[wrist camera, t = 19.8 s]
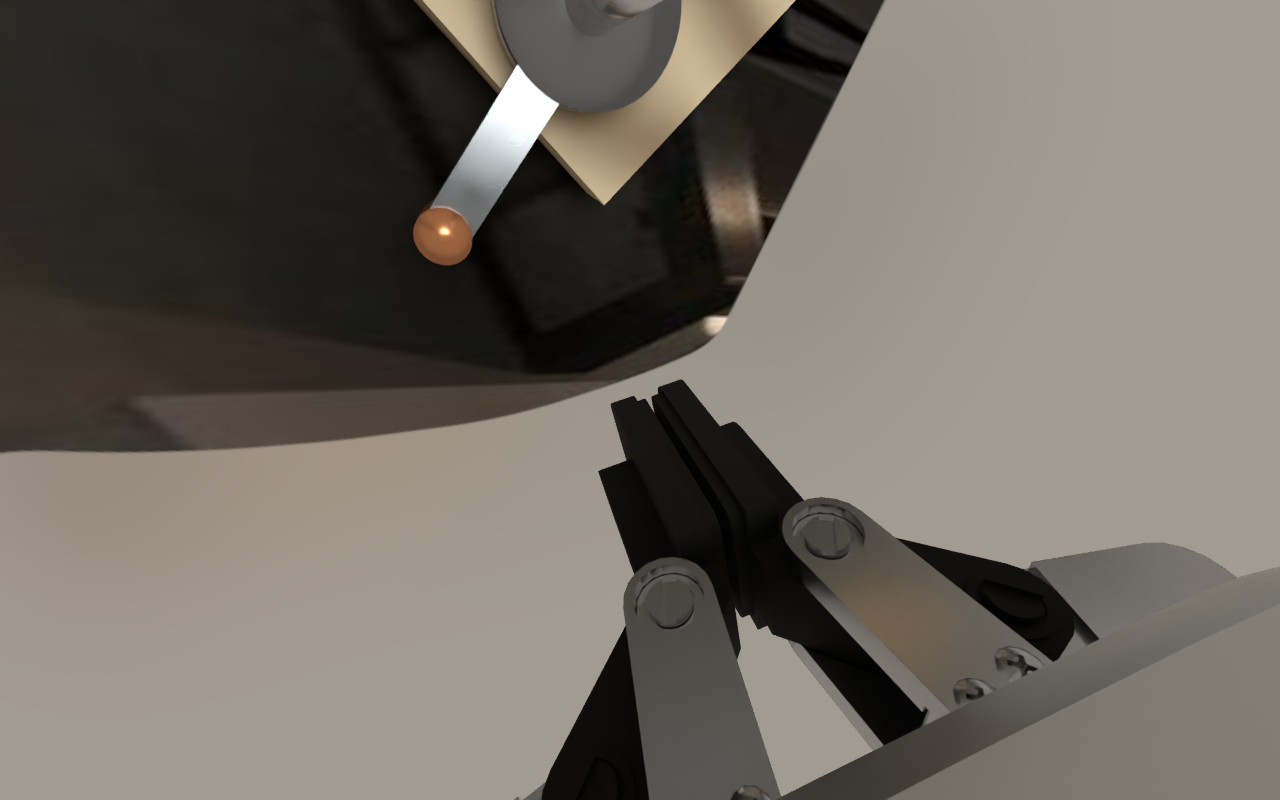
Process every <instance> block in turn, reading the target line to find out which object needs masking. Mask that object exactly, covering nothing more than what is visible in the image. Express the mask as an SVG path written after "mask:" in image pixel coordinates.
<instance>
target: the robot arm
mask: <svg viewBox="0 0 1280 800" xmlns="http://www.w3.org/2000/svg"><path fill="white" fill-rule="evenodd" d="M652 404H653V408H654V412H653V410H652V409H651V407H650V405H649V404H648V402H647V401H646V399H642V400H640V401H637V400H636V398H635V397H634V396H631V397H629V398H626V399H623V400H620V401H617V402H614V403H611V408H612V412H613V415H614V419H615V423H616V426H617V429H618V433H619V436H620V440H621V443H622V447H623V450H624V453H625V457H626V460H627V461H624V462H621V463H619V464H616V465H613V466H611V467H608V468H605V469H602V470H600V471H598V472H599V475H600V478H601V481H602V484H603V487H604V490H605V493H606V496H607V499H608V501H609V504H610V507H611V510H612V513H613V516H614V519H615V522H616V524H617V527H618V530H619V533H620V536H621V538H622V541H623V544H624V547H625V549H626V553H627V555H628V558H629V561H630V564H631V567H632V569H633V572H634V576H633V577H632V578H631V580H630V581H629V583H628V585H627V588H626V591H625V593H624V606H623V609H624V616H625V623H626V626H625V628H624V630H623V632H622V634H621V636H620V638H619V639H618V641H617V643H616V645H615V647H614V649H613V651H612V653H611V655H610V657H609V659H608V661H607V662H606V664H605V666H604V668H603V670H602V672H601V674H600V676H599V678H598V680H597V682H596V684H595V686H594V687H593V690H592V691H591V693H590V695H589V697H588V699H587V701H586V703H585V705H584V707H583V709H582V711H581V713H580V714H579V716H578V718H577V720H576V722H575V724H574V726H573V728H572V730H571V732H570V734H569V735H568V737H567V739H566V741H565V743H564V745H563V747H562V749H561V751H560V753H559V755H558V757H557V759H556V760H555V762H554V764H553V766H552V768H551V770H550V773H549V775H548V778H547V780H546V782H545V783H544V784H543V785H542V786H540V787H539V788H538V789H536V790H535V791H534V792H533V793H531V794H530V795H529V796H527V797H526V798H525V799H524V800H1280V567H1277V568H1272V569H1268V570H1264V571H1261V572H1257V573H1253V574H1250V575H1245V576H1242V577H1239V578H1237V577H1235V576H1234V575H1233V574H1232V573H1230V572H1229V571H1228V570H1226V569H1225V568H1223V567H1222V566H1220V565H1219V564H1217V563H1216V562H1214V561H1212V560H1211V559H1209V558H1207V557H1206V556H1204V555H1201V554H1199V553H1196V552H1194V551H1192V550H1189V549H1187V548H1184V547H1180V546H1175V545H1171V544H1166V543H1141V544H1135V545H1129V546H1124V547H1117V548H1112V549H1106V550H1100V551H1094V552H1088V553H1082V554H1076V555H1071V556H1064V557H1058V558H1053V559H1046V560H1041V561H1035V562H1032V563H1031V565H1030V567H1029V568H1027V569H1021V568H1018V567H1015V566H1012V565H1009V564H1006V563H1001V562H997V561H993V560H988V559H984V558H980V557H975V556H971V555H967V554H963V553H958V552H954V551H949V550H946V549H941V548H937V547H932V546H928V545H924V544H920V543H916V542H911V541H907V540H903V539H898V538H895V537H894V536H892V535H891V534H890V533H889V532H887V531H886V530H885V529H884V528H882V527H881V526H880V525H878V524H877V523H876V522H874V521H873V520H872V519H871V518H870V517H868V516H867V515H866V514H865V513H863V512H862V511H861V510H859V509H857V508H856V507H854V506H852V505H851V504H849V503H846V502H843V501H840V500H837V499H833V498H823V497H820V498H813V499H807V500H805V501H804V500H803V499H802V498H801V496H800V495H799V494H798V493H797V492H796V490H795V489H794V488H793V487H792V486H791V485H790V483H789V482H788V481H787V480H786V479H785V478H784V477H783V475H782V474H781V473H780V472H779V471H778V470H777V469H776V467H775V466H774V465H773V464H772V463H771V461H770V460H769V459H768V458H767V457H766V456H765V455H764V453H763V452H762V451H761V450H760V449H759V448H758V446H757V445H756V444H755V443H754V442H753V441H752V439H751V438H750V437H749V436H748V435H747V434H746V433H745V431H744V430H743V429H742V428H741V427H740V426H739V425H738V424H737V423H735V422H731V423H728V424H725V425H723V426H719V425H718V423H717V422H716V421H715V420H714V419H713V417H712V416H711V415H710V413H709V412H708V411H707V410H706V408H705V407H704V406H703V405H702V403H701V402H700V401H699V400H698V398H697V397H696V396H695V395H694V393H693V392H692V391H691V390H690V388H689V387H688V386H687V385H686V383H685V382H684V381H683V380H678V381H675V382H672V383H669V384H666V385H663V386H660V387H659V388H658V394H657V395H654V396H652ZM654 413H655V414H654ZM735 608H736V610H737V611H738V613H739V615H740V616H741V617H742V618H743V617H745V616H747V615H750V616H751V618H752V620H753V621H754V623H755V625H756V627H757V629H761V628H763V627H765V626H768V627H769V629H770V631H771V633H772V634H773V635H776V636H779V637H781V638H784V639H787V640H788V642H789V643H790V645H791V647H792V648H793V649H794V651H795V653H796V654H797V656H798V657H799V658H800V659H801V661H802V662H803V663H804V664H805V666H806V667H807V668H808V669H809V671H810V672H811V673H812V674H813V676H814V677H815V678H816V679H817V681H818V682H819V683H820V684H821V686H822V687H823V688H824V689H825V690H826V692H827V693H828V694H829V696H830V697H831V698H832V700H833V701H834V702H835V703H836V705H837V706H838V707H839V708H840V710H841V711H842V712H843V713H844V714H845V716H846V717H847V718H848V720H849V721H850V722H851V723H852V725H853V726H854V727H855V728H856V730H857V731H858V732H859V733H860V735H861V736H862V737H863V739H864V740H865V741H866V742H867V744H868V745H869V746H870V747H871V749H872V750H873V751H872V752H870V753H868V754H866V755H864V756H862V757H860V758H858V759H856V760H854V761H852V762H850V763H848V764H846V765H844V766H842V767H840V768H838V769H836V770H834V771H832V772H830V773H828V774H826V775H824V776H823V777H820V778H818V779H816V780H814V781H812V782H810V783H808V784H806V785H804V786H802V787H800V788H799V789H796V790H795V791H792V792H790V793H788V794H786V795H784V796H782V797H781V795H780V792H779V789H778V786H777V783H776V780H775V776H774V773H773V770H772V767H771V764H770V761H769V758H768V755H767V752H766V749H765V746H764V742H763V740H762V737H761V733H760V730H759V727H758V724H757V721H756V718H755V715H754V712H753V708H752V706H751V702H750V699H749V696H748V693H747V690H746V687H745V684H744V681H743V678H742V674H741V672H740V668H739V665H738V662H737V658H738V655H739V652H740V649H741V646H740V639H739V633H738V626H737V619H736V612H735ZM514 800H521V799H520V798H519V797H517V798H516V799H514Z"/></svg>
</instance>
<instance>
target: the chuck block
mask: <svg viewBox="0 0 1280 800" xmlns="http://www.w3.org/2000/svg"><path fill="white" fill-rule="evenodd" d="M414 1H415V2H416V3H417V5H418V6H419V7H420V8H421V9H422V10H423V11H424V12H425V13H426V15H427V16H428V17H429V18H430V19H431V20H432V21H433V22H434V23H435V25H436V26H437V27H438V28H439V29H440V30H441V31H442V32H443V34H444V35H445V36H446V37H447V38H448V39H449V40H450V41H451V42H452V44H453V45H454V46H455V47H456V48H457V49H458V50H459V51H460V52H461V54H462V55H463V56H464V57H465V58H466V59H467V60H468V61H469V62H470V64H471V65H472V66H473V67H474V68H475V69H476V70H477V71H478V72H479V74H480V75H481V76H482V77H483V78H484V79H485V80H486V81H487V83H488V84H489V85H490V86H491V87H492V88H493V89H494V90H495V91H496V93H497V94H499V92H500V90H501V89H502V87H503V85H504V84H505V82H506V81H507V79H508V77H509V76H510V74H511V72H512V71H513V69H514V68H513V67H512V65H511V64H510V62H509V60H508V59H507V57H506V54H505V52H504V50H503V48H502V46H501V43H500V40H499V38H498V35H497V32H496V28H495V24H494V20H493V14H492V7H491V0H414ZM794 1H795V0H682V8H681V20H680V27H679V32H678V36H677V41H676V44H675V47H674V50H673V53H672V55H671V58H670V60H669V62H668V64H667V66H666V68H665V70H664V71H663V73H662V75H661V76H660V78H659V79H658V80H657V82H656V83H655V84H654V85H653V87H652V88H651V89H650V90H649V91H648V92H646V93H645V94H644V95H643V96H642V97H641V98H639V99H638V100H636V101H635V102H633V103H631V104H629V105H628V106H626V107H623V108H620V109H617V110H614V111H608V112H586V113H580V112H573V111H568V110H565V109H562V108H559V107H557V108H556V110H555V111H554V113H553V114H552V116H551V117H550V119H549V120H548V122H547V123H546V125H545V127H544V128H543V130H542V131H541V133H540V134H539V136H538V137H537V138H538V139H539V140H540V142H541V143H542V144H543V145H544V146H545V147H546V148H547V149H548V150H549V152H550V153H551V154H552V155H553V156H554V157H555V158H556V159H557V160H558V162H559V163H560V164H561V165H562V166H563V167H564V168H565V169H566V170H567V172H568V173H569V174H570V175H571V176H572V177H573V178H574V179H575V180H576V182H577V183H578V184H579V185H580V186H581V187H582V188H583V189H584V190H585V192H586V193H587V194H589V195H590V196H592V197H593V198H595V199H596V200H598V201H599V202H601V203H602V204H603V205H605V204H606V203H607V202H608V201H609V200H610V199H611V197H612V196H613V195H614V194H615V193H616V192H617V191H618V190H619V189H620V188H621V187H622V186H623V185H624V184H625V182H626V181H627V180H628V179H629V178H630V177H631V176H632V175H633V174H634V173H635V172H636V171H637V170H638V169H639V167H640V166H641V165H642V164H643V163H644V162H645V161H646V160H647V159H648V158H649V157H650V156H651V155H652V154H653V152H654V151H655V150H656V149H657V148H658V147H659V146H660V145H661V144H662V143H663V142H664V141H665V140H666V139H667V137H668V136H669V135H670V134H671V133H672V132H673V131H674V130H675V129H676V128H677V127H678V126H679V125H680V124H681V122H682V121H683V120H684V119H685V118H686V117H687V116H688V115H689V114H690V113H691V112H692V111H693V110H694V108H695V107H696V106H697V105H698V104H699V103H700V102H701V101H702V100H703V99H704V98H705V97H706V96H707V95H708V93H709V92H710V91H711V90H712V89H713V88H714V87H715V86H716V85H717V84H718V83H719V82H720V81H721V80H722V78H723V77H724V76H725V75H726V74H727V73H728V72H729V71H730V70H731V69H732V68H733V67H734V66H735V65H736V63H737V62H738V61H739V60H740V59H741V58H742V57H743V56H744V55H745V54H746V53H747V52H748V51H749V50H750V48H751V47H752V46H753V45H754V44H755V43H756V42H757V41H758V40H759V39H760V38H761V37H762V36H763V35H764V33H765V32H766V31H767V30H768V29H769V28H770V27H771V26H772V25H773V24H774V23H775V22H776V21H777V20H778V18H779V17H780V16H781V15H782V14H783V13H784V12H785V11H786V10H787V9H788V8H789V7H790V6H791V5H792V3H793V2H794Z"/></svg>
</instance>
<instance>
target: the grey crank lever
mask: <svg viewBox="0 0 1280 800" xmlns="http://www.w3.org/2000/svg"><path fill="white" fill-rule="evenodd" d="M491 7H492V14H493V20H494V24H495V28H496V32H497V35H498V38H499V40H500V43H501V46H502V48H503V50H504V52H505V54H506V57H507V59H508V60H509V62H510V64H511V65H512V67H513V68H514V69H513V71H512V72H511V74H510V76H509V77H508V79H507V81H506V82H505V84H504V85H503V87H502V89H501V90H500V92H499V94H498V95H497V97H496V99H495V100H494V102H493V103H492V105H491V107H490V108H489V110H488V112H487V113H486V115H485V117H484V118H483V120H482V122H481V123H480V125H479V126H478V128H477V130H476V131H475V133H474V135H473V136H472V138H471V140H470V141H469V143H468V144H467V146H466V148H465V149H464V151H463V153H462V154H461V156H460V158H459V159H458V161H457V162H456V164H455V166H454V167H453V169H452V171H451V172H450V174H449V176H448V177H447V179H446V180H445V182H444V184H443V185H442V187H441V189H440V190H439V192H438V194H437V195H436V197H435V199H434V200H433V201H431V202H429V203H428V204H427V205H426V206H425V207H424V208H423V209H422V211H421V213H420V215H419V217H418V219H417V221H416V223H415V226H414V230H413V235H414V241H415V244H416V246H417V248H418V249H419V251H420V252H421V253H422V254H423V255H424V256H425V257H426V258H427V259H429V260H430V261H432V262H434V263H437V264H441V265H453V264H456V263H459V262H461V261H462V260H463V259H465V258H466V257H467V255H468V254H469V252H470V250H471V246H472V238H473V236H474V235H475V233H476V231H477V230H478V228H479V227H480V225H481V224H482V222H483V221H484V219H485V218H486V216H487V215H488V213H489V211H490V210H491V208H492V207H493V205H494V204H495V202H496V201H497V199H498V198H499V196H500V194H501V193H502V191H503V190H504V188H505V187H506V185H507V184H508V182H509V181H510V179H511V177H512V176H513V174H514V173H515V171H516V170H517V168H518V167H519V165H520V164H521V162H522V160H523V159H524V157H525V156H526V154H527V153H528V151H529V150H530V148H531V147H532V145H533V143H534V142H535V140H536V139H537V137H538V136H539V134H540V133H541V131H542V130H543V128H544V127H545V125H546V123H547V122H548V120H549V119H550V117H551V116H552V114H553V113H554V111H555V110H556V108H557V107H559V108H562V109H565V110H568V111H573V112H580V113H586V112H608V111H614V110H617V109H620V108H623V107H626V106H628V105H629V104H631V103H633V102H635V101H636V100H638V99H639V98H641V97H642V96H643V95H644V94H645V93H646V92H648V91H649V90H650V89H651V88H652V87H653V85H654V84H655V83H656V82H657V80H658V79H659V78H660V76H661V75H662V73H663V71H664V70H665V68H666V66H667V64H668V62H669V60H670V58H671V55H672V53H673V50H674V47H675V44H676V41H677V36H678V32H679V27H680V20H681V8H682V0H491Z"/></svg>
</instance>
